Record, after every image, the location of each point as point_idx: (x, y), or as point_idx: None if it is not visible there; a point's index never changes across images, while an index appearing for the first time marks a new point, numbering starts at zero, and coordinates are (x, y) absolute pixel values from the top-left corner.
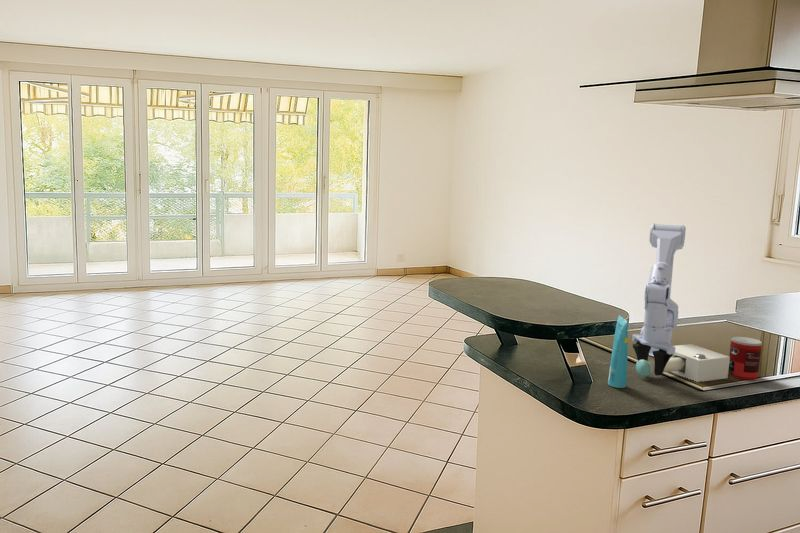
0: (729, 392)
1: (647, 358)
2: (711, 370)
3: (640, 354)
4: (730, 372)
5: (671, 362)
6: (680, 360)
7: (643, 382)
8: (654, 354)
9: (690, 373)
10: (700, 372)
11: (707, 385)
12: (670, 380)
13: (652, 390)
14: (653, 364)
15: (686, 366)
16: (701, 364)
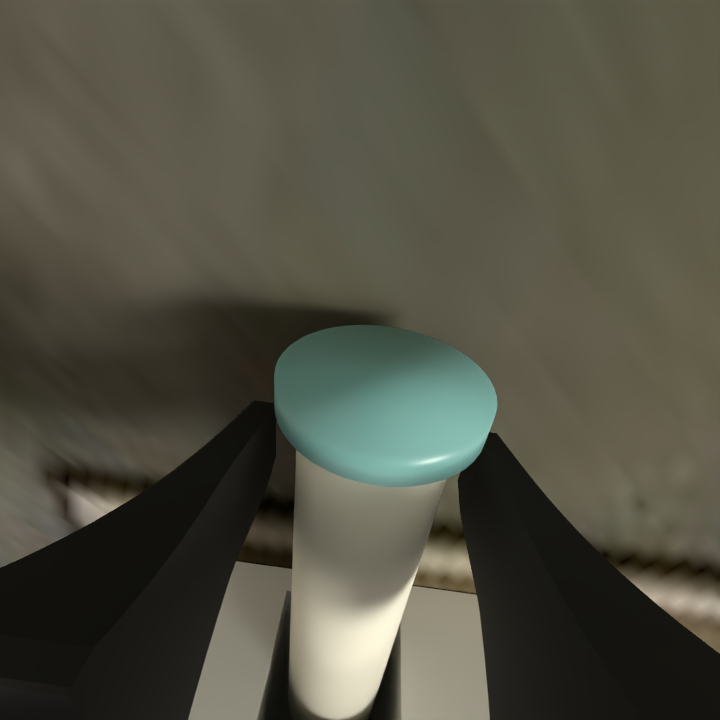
0: (28, 554)
1: (475, 581)
2: None
3: (532, 577)
4: None
5: (297, 635)
6: (299, 690)
7: (312, 261)
8: (77, 612)
9: (238, 603)
10: None
11: None
12: (275, 477)
13: (78, 133)
14: (307, 497)
15: (263, 649)
16: None
